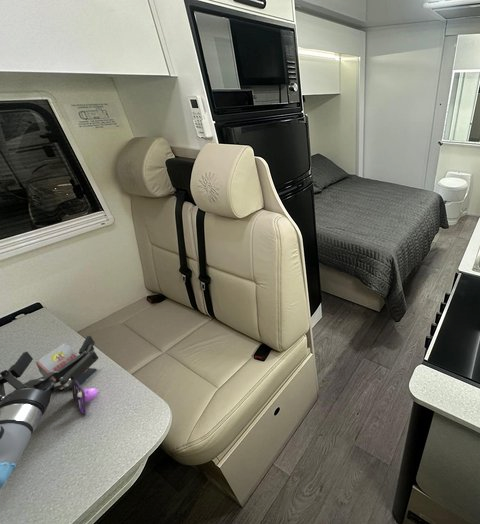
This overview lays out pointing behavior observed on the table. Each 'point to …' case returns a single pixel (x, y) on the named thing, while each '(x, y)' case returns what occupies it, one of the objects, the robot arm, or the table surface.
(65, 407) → the table surface
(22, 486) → the table surface
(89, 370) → the mat
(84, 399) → the purple knobbed frame
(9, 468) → the robot arm
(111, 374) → the table surface
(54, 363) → the white red carton
